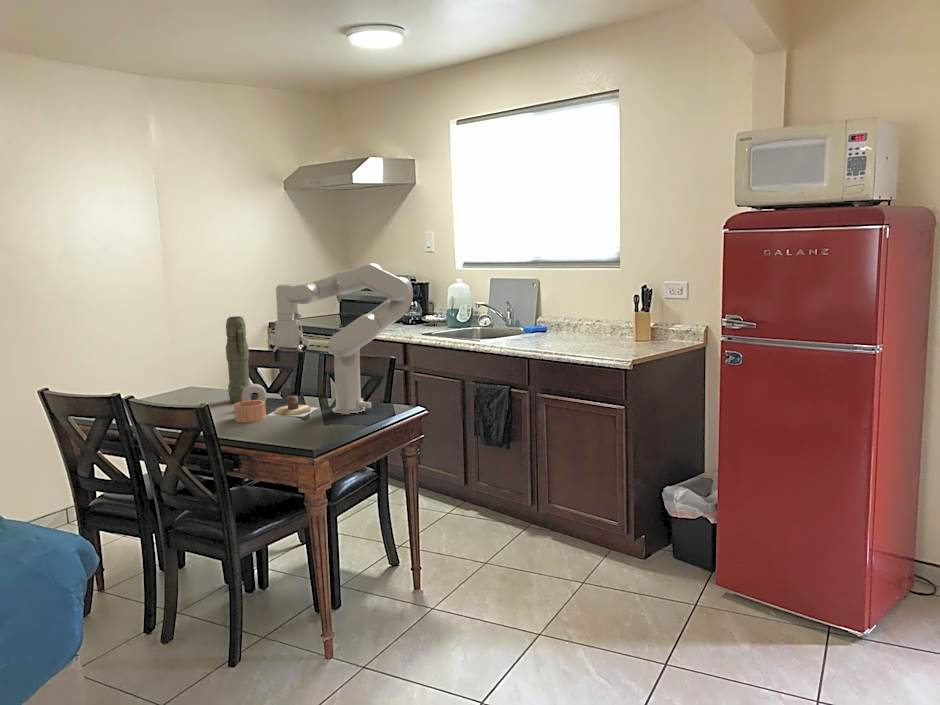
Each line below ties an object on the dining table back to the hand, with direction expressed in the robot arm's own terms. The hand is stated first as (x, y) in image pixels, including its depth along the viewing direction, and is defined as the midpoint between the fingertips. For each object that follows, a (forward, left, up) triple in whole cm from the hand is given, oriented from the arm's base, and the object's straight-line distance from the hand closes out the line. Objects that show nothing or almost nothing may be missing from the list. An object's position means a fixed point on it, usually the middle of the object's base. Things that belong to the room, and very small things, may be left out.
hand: (289, 362), depth 282 cm
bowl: (+10, +13, -20) cm, 26 cm away
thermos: (+30, -17, -20) cm, 40 cm away
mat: (-1, 0, -20) cm, 20 cm away
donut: (+17, -4, -20) cm, 27 cm away
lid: (-1, 0, -19) cm, 19 cm away
